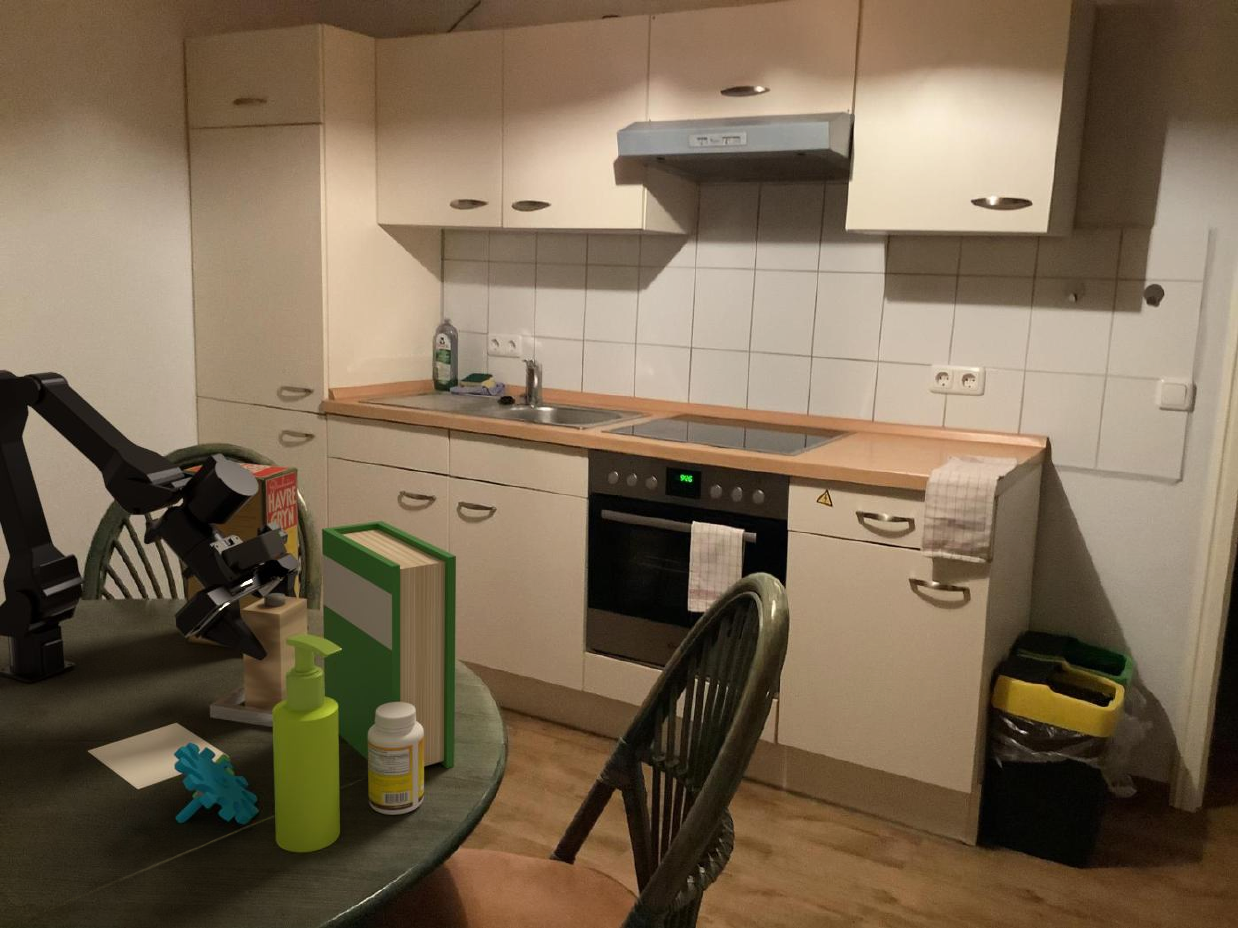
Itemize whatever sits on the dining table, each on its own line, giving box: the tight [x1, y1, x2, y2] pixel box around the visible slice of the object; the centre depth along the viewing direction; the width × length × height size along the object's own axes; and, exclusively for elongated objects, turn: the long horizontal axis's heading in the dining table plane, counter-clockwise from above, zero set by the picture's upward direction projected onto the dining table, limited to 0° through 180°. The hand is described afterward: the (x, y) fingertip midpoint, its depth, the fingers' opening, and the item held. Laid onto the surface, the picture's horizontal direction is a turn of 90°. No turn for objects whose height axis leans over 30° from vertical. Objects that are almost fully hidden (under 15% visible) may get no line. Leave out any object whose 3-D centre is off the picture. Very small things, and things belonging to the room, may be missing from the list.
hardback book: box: [321, 520, 457, 769], centre depth 115 cm, size 18×7×24 cm, turn 39°
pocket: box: [209, 682, 325, 728], centre depth 125 cm, size 11×11×2 cm
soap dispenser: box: [272, 633, 342, 853], centre depth 96 cm, size 6×7×20 cm
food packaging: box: [182, 462, 300, 648], centre depth 146 cm, size 13×9×25 cm
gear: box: [174, 743, 260, 825], centre depth 100 cm, size 11×6×10 cm
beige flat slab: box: [87, 722, 230, 790], centre depth 112 cm, size 12×10×1 cm
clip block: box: [242, 593, 308, 710], centre depth 124 cm, size 5×6×14 cm
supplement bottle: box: [367, 702, 425, 816], centre depth 103 cm, size 6×6×10 cm
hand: (285, 644), depth 124 cm, fingers open, 9 cm apart
